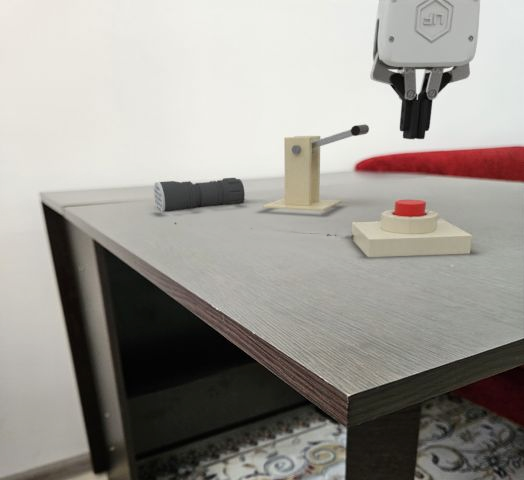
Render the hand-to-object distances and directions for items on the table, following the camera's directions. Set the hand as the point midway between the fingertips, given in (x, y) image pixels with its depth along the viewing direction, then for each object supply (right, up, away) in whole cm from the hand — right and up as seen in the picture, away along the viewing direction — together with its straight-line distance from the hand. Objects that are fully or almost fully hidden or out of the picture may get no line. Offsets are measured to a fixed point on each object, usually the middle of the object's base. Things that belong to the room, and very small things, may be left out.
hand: (413, 138), depth 60 cm
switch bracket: (-10, 0, +30) cm, 32 cm away
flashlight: (-28, 0, +32) cm, 43 cm away
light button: (+1, -8, +4) cm, 9 cm away
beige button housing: (+1, -11, +5) cm, 13 cm away
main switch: (-6, +8, +24) cm, 26 cm away
